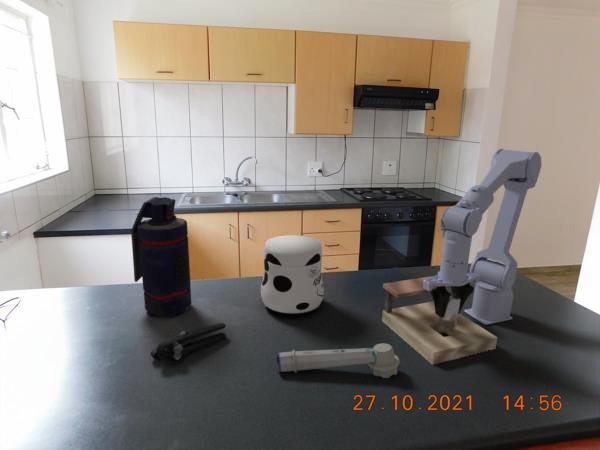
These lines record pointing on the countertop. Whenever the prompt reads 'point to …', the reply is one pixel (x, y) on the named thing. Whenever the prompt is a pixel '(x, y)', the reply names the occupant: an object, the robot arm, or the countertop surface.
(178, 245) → the grenade
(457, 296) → the steel peg
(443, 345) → the socket block
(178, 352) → the can opener
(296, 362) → the toothbrush head
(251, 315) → the countertop surface
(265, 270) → the milk container
